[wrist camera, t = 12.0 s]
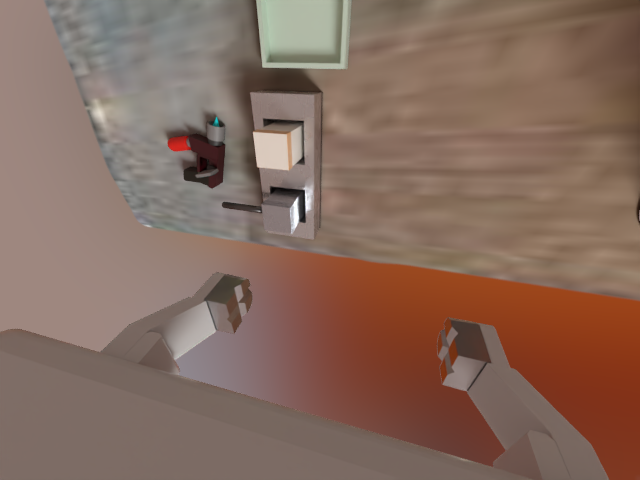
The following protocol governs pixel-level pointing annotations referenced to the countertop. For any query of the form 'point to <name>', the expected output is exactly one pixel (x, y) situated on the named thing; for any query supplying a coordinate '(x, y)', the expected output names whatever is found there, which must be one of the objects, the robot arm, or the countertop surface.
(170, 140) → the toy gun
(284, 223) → the grey box with openings
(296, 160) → the plug
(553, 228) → the countertop surface
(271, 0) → the tray
